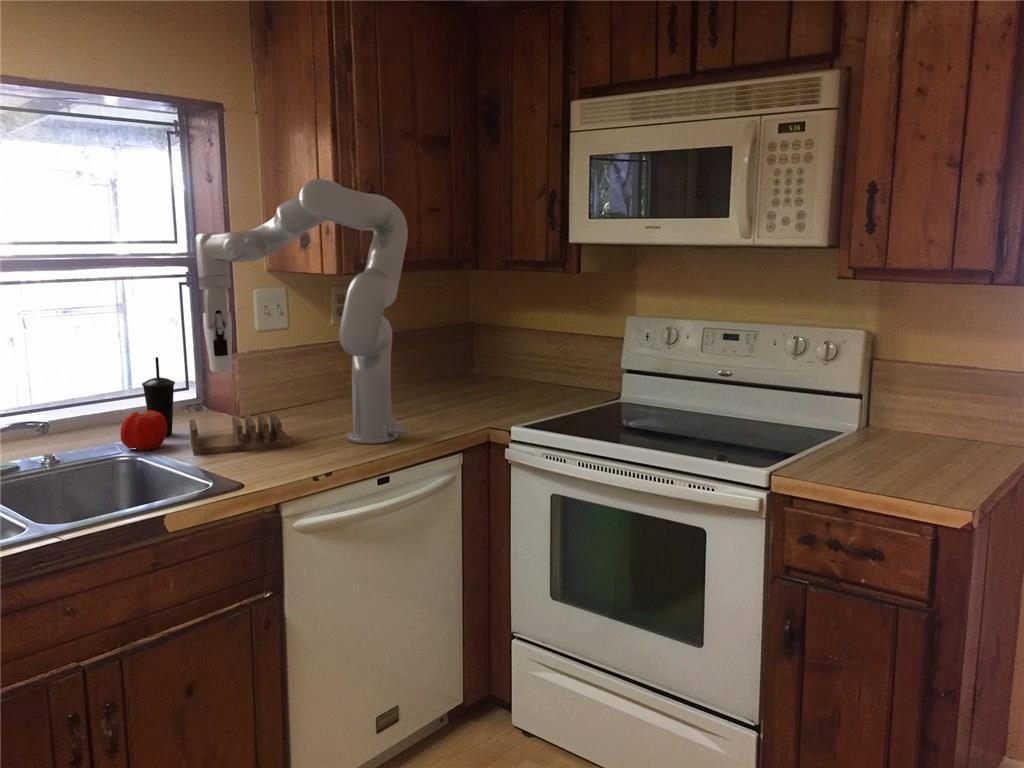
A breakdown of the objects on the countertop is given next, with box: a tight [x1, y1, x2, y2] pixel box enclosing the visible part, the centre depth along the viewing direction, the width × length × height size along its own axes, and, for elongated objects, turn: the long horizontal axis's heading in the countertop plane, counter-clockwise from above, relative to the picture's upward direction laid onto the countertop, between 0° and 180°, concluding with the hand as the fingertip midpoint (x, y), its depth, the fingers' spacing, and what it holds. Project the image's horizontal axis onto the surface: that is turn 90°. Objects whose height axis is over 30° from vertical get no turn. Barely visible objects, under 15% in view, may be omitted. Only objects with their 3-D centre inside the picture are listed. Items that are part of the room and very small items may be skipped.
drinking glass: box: [202, 311, 233, 374], centre depth 217 cm, size 7×7×15 cm
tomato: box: [120, 410, 167, 451], centre depth 203 cm, size 11×11×9 cm
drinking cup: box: [141, 356, 176, 438], centre depth 214 cm, size 8×8×20 cm
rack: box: [189, 412, 291, 456], centre depth 207 cm, size 22×12×6 cm, turn 113°
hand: (220, 353), depth 217 cm, fingers closed on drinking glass, 5 cm apart
